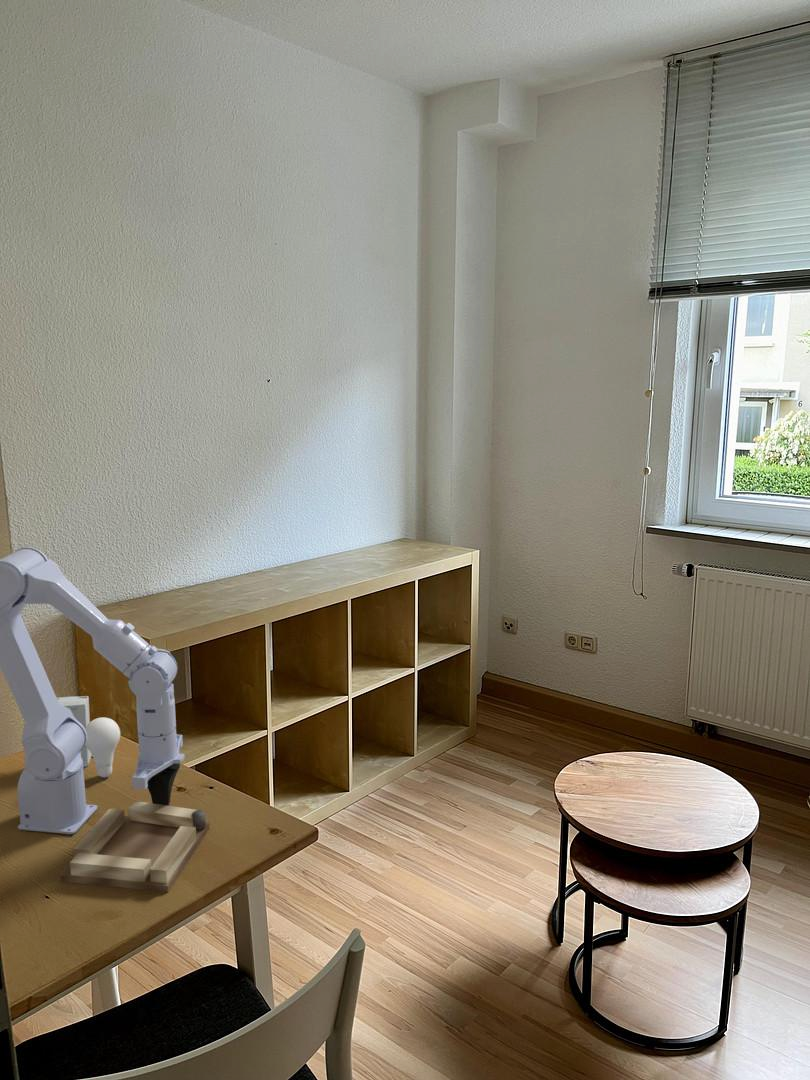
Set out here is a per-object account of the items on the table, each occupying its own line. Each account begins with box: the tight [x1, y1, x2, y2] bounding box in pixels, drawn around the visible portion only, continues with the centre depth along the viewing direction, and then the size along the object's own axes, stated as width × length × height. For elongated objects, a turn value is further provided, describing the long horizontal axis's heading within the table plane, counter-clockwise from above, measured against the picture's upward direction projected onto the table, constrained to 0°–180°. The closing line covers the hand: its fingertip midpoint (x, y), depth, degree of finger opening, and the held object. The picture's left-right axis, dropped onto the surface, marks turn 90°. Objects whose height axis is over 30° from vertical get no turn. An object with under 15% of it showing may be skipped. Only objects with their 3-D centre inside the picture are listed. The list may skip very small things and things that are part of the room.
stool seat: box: [59, 808, 210, 893], centre depth 127 cm, size 16×16×3 cm
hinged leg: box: [127, 800, 207, 830], centre depth 133 cm, size 12×2×2 cm, turn 76°
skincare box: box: [56, 695, 93, 768], centre depth 153 cm, size 6×4×12 cm
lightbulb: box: [85, 716, 121, 779], centre depth 148 cm, size 6×6×11 cm
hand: (161, 807), depth 135 cm, fingers closed, pressing on hinged leg
